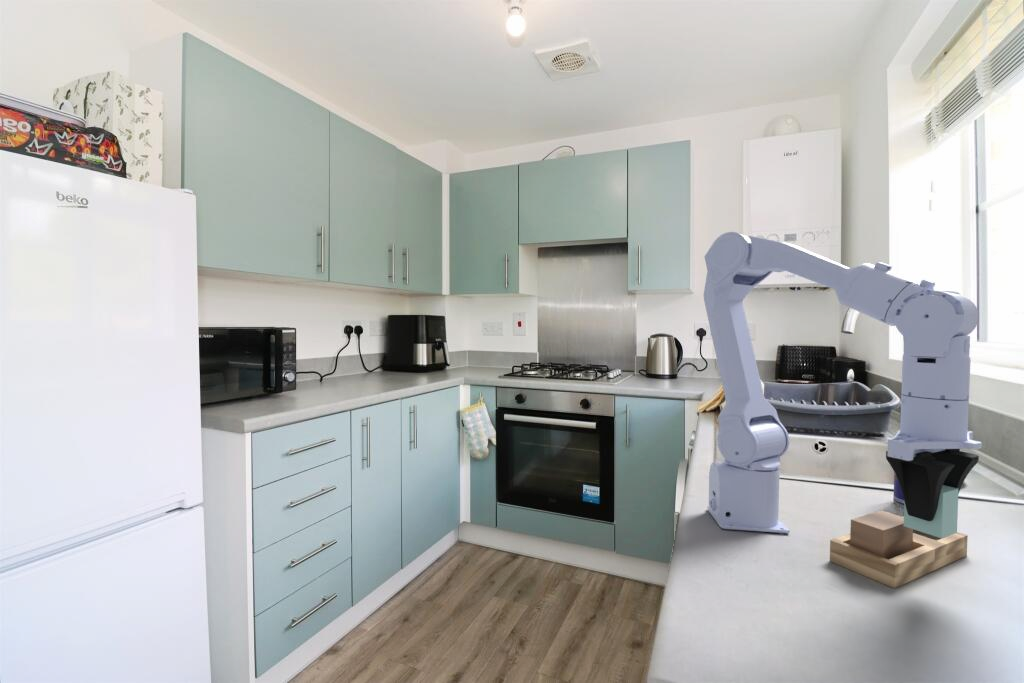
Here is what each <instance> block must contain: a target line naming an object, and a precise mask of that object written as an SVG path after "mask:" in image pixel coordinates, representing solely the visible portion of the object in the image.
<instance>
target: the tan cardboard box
mask: <svg viewBox="0 0 1024 683" xmlns="http://www.w3.org/2000/svg"><path fill="white" fill-rule="evenodd" d="M903 525H904V517H902V516H901V515H897V514H894V513H891V512H888V511H884V510H882V509H880V510H878V511H874V512H870V513H868V514H865V515H861V516H858V517H855V518H850V533H849V534H850V545H852V546H854V547H857V548H860V549H862V550H865V551H867V552H870V553H873V554H875V555H878V556H881V557H883V558H886V559H888V560H889V559H892V558H894V557H897V556H899V555H902V554H904V553H907V552H909V551H912V548H913V529H911V528H908V527H905V526H903Z"/></svg>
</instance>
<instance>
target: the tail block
mask: <svg viewBox="0 0 1024 683" xmlns="http://www.w3.org/2000/svg"><path fill="white" fill-rule="evenodd" d="M958 490H959V489H958V488H953V487H949V486H945V485H943V486H942V489H941V492H940V496H939V502H938V507H937V511H936V514H935V517H934V519H933V521H926V520H923V519H920V518H916V517H913V516H910V515H908V512H907V509H906V505H905V501H904V507H903V516H904V525H903V526H905V527H908V528H911V529H914V530H917V531H920V532H923V533H927V534H930V535H933V536H936V537H939V538H944V537H946V536H949V535H952V534H955V533H957V532H958V513H959V509H958V508H959V494H958Z"/></svg>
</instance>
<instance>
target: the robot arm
mask: <svg viewBox="0 0 1024 683" xmlns="http://www.w3.org/2000/svg"><path fill="white" fill-rule="evenodd" d="M704 261H705V266H706V271H707V272H706V278H705V284H704V290H703V301H704V306H705V311H706V315H707V321H708V325H709V329H710V335H711V338H712V343H713V348H714V351H715V356H716V362H717V366H718V372H719V376H720V380H721V385H722V389H723V395H724V398H725V405H724V407H722V410H721V411H720V413H718V416H717V421H718V428H719V429H718V433H717V441H716V442H717V447H718V450H719V452H720V454H721V456H722V457H723V459H724V461H720V462H718V461H717V462H716V461H715V462H712V463H710V467H709V473H708V474H709V475H708V476H709V477H708V505H707V509H706V510H708V512H709V513H710V515H711V516H712V518H713V519H714V520H715V521H716V523H717V525H718V526H719V528H721V529H724V530H736V531H748V532H749V531H750V532H765V533H766V532H767V533H780V534H789V533H790V529H789V528H788V527H787V526H786V525H785V524H784V522H782V520H780V519H779V509H780V508H779V506H780V505H779V504H780V469H781V468H780V467H781V466H780V465H781V457H782V456H783V455H785V454H786V452H787V451H788V449H789V446H790V436H789V432H788V430H787V428H786V427H785V426H784V425H783V423H782V422H781V420H780V418H779V415H778V411H777V409H776V408H775V407H774V405H772V404H771V403H770V402H769V400H767V399H766V398H765V394H764V390H763V385H762V381H761V377H760V373H759V368H758V365H757V360H756V359H757V358H756V355H755V350H754V346H753V343H752V339H751V338H752V337H751V333H750V329H749V325H748V321H747V316H746V312H745V308H744V304H743V301H744V300H745V298H746V297H747V295H748V294H749V293H750V291H751V290H753V289H754V288H755V287H757V286H758V285H759V284H760V283H761V282H762V281H764V280H765V279H767V278H768V277H769V276H771V274H772V273H773V272H775V273H783V272H787V273H791V274H793V275H796V276H798V277H801V278H803V279H806V280H809V281H812V282H814V283H817V284H819V285H822V286H824V287H827V288H829V289H832V290H834V292H835V294H836V298H837V300H838V302H839V303H840V304H841V305H843V306H846V307H848V308H850V309H852V310H854V311H857V312H859V313H861V314H863V315H865V316H867V317H870V318H872V319H874V320H877V321H879V322H882V323H884V324H886V325H888V326H891V327H896V329H897V330H898V332H899V333H900V334H901V335H902V336H903V354H902V363H901V364H902V366H901V367H902V369H901V370H902V371H901V395H900V396H901V397H900V414H899V415H900V418H899V419H900V423H899V424H900V425H899V430H897V432H896V433H895V435H894V437H892V438H888V439H887V450H886V451H885V459H886V460H887V462H888V464H889V465H890V467H891V469H892V470H893V472H895V474H896V476H897V478H898V481H899V484H900V487H901V490H902V494H903V498H904V501H905V505H906V509H907V512H908V515H910V516H913V517H916V518H920V519H923V520H926V521H933V519H934V517H935V514H936V511H937V507H938V502H939V496H940V492H941V489H942V486H943V485H945V486H949V487H953V488H958V489H959V490H958V495H959V494H960V491H961V488H962V486H963V484H964V482H965V481H966V480H965V479H967V476H968V475H969V473H970V472H971V471H972V470H973V469H974V467H976V465H977V464H978V463H979V460H980V458H979V457H980V456H979V454H976V453H971V452H966V451H961V449H962V450H963V449H966V450H974V451H977V450H980V449H982V447H983V446H982V445H983V443H982V441H978V440H974V431H971V430H969V428H968V426H969V406H970V405H969V404H970V401H969V400H970V384H971V382H970V381H971V380H970V379H971V356H970V349H971V347H970V346H971V336H970V334H971V333H972V332H974V330H975V329H976V327H977V326H978V323H979V321H980V312H979V309H978V308H977V306H976V304H975V303H974V302H973V301H972V300H971V299H969V298H967V297H966V296H964V295H962V294H960V293H959V292H958V291H950V290H943V291H939V290H934V289H935V288H934V287H935V286H936V283H935V282H934V281H931V280H928V279H926V278H925V279H922V280H921V281H918V280H916V279H913V278H910V277H907V276H905V275H903V274H900V273H897V272H894V271H891V270H892V268H893V266H892V265H890V264H887V263H884V262H879V261H877V262H876V263H874V264H871V263H869V262H866V263H865V262H864V263H861V264H859V265H855V266H852V267H848V266H846V265H843V264H841V263H839V262H836V261H833V260H831V259H829V258H827V257H826V256H825V257H824V256H822V255H820V254H818V253H814V252H813V251H810V250H807V249H806V248H803V247H800V246H798V245H797V244H793V243H790V242H789V243H788V242H783V241H779V240H774V239H770V238H763V237H757V236H752V235H745V234H742V233H739V232H735V231H728V232H725V233H723V234H720V235H719V236H718V237H717V238H715V240H714V241H713V243H712V244H711V245H710V248H709V249H708V251H707V252H706V253H705V255H704Z"/></svg>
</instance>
